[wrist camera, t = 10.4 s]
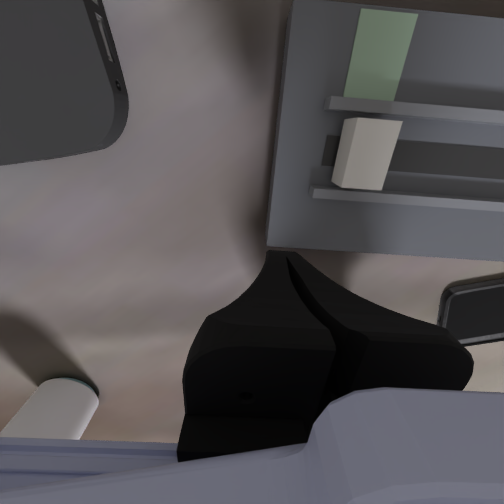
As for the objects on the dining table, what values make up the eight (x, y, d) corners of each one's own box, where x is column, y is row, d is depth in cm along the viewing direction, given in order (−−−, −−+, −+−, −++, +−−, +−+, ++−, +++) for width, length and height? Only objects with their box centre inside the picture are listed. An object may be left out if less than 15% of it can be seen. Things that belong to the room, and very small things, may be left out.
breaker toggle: (366, 183, 16) (381, 190, 14) (331, 181, 16) (341, 187, 14) (383, 122, 14) (402, 121, 13) (344, 119, 14) (357, 117, 12)
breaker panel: (510, 250, 21) (557, 271, 18) (265, 233, 21) (267, 253, 17) (632, 52, 15) (737, 29, 12) (287, 18, 14) (298, -17, 11)
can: (38, 369, 28) (-93, 514, 17) (100, 378, 29) (11, 522, 18) (46, 404, 31) (-61, 547, 21) (102, 412, 32) (27, 553, 21)
